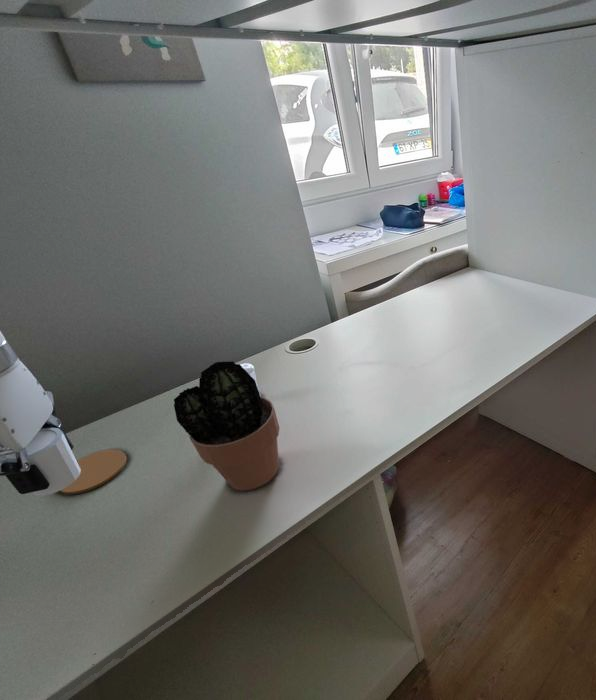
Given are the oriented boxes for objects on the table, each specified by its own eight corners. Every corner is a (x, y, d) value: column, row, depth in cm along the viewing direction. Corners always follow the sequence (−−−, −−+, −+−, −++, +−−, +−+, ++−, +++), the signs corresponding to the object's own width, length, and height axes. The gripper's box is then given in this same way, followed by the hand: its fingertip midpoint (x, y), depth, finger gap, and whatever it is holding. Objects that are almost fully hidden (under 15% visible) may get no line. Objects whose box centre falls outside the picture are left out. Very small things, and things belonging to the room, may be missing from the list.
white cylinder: (82, 455, 68) (59, 420, 64) (89, 480, 63) (65, 443, 60) (24, 480, 64) (-5, 443, 60) (27, 508, 59) (-4, 470, 56)
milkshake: (237, 406, 102) (222, 370, 96) (250, 392, 106) (237, 357, 101) (255, 407, 101) (241, 371, 96) (267, 393, 105) (255, 358, 100)
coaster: (46, 501, 80) (44, 499, 79) (71, 460, 89) (69, 457, 88) (116, 484, 83) (115, 482, 82) (133, 445, 92) (132, 443, 91)
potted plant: (261, 439, 92) (221, 333, 79) (307, 461, 85) (272, 350, 73) (199, 484, 82) (141, 371, 69) (246, 513, 75) (193, 395, 63)
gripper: (-23, 336, 59) (46, 436, 69) (-125, 413, 45) (-21, 527, 54) (44, 326, 61) (102, 425, 70) (-34, 398, 47) (52, 510, 56)
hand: (48, 469), depth 62 cm, fingers closed on white cylinder, 6 cm apart
